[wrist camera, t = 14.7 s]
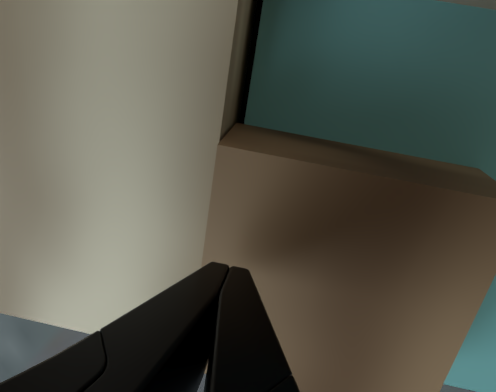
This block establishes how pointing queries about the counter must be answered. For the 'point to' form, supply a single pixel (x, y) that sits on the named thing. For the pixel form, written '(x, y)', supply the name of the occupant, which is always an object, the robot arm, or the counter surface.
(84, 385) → the robot arm
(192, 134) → the deck
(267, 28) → the mat
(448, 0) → the blush pink tile
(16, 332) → the counter surface
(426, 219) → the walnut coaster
